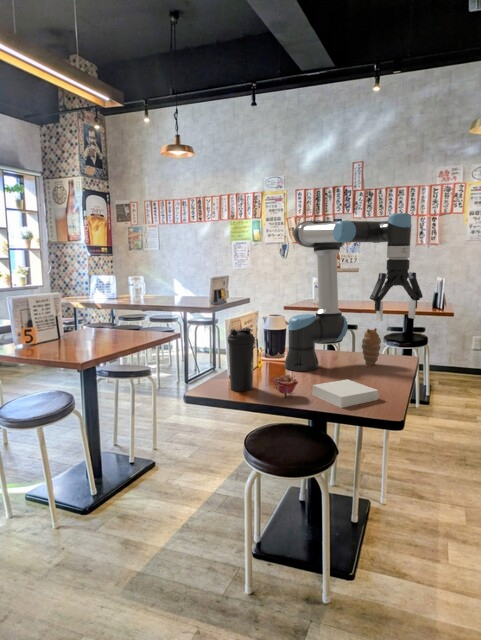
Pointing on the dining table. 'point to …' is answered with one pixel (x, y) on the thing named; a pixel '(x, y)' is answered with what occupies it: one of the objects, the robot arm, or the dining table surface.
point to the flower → (285, 384)
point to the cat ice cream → (371, 347)
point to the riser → (344, 393)
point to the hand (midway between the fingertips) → (395, 319)
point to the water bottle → (241, 359)
